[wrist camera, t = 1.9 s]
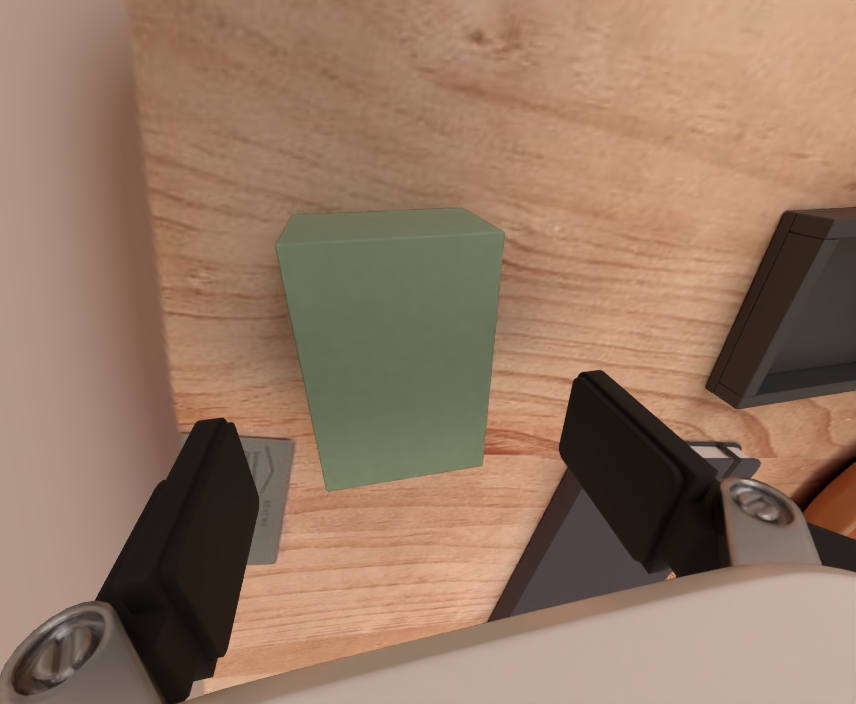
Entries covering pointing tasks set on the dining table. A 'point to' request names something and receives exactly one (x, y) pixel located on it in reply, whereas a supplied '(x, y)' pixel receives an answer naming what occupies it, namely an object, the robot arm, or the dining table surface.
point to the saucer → (836, 505)
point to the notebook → (591, 545)
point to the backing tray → (796, 316)
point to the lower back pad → (394, 337)
